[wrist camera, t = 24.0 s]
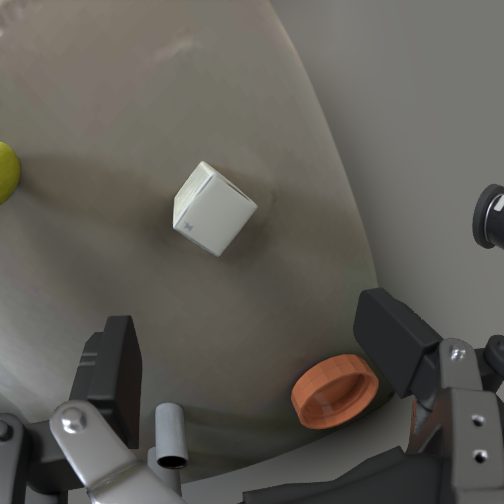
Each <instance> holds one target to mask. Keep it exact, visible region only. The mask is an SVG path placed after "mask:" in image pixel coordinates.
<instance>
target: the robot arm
mask: <svg viewBox="0 0 504 504" xmlns="http://www.w3.org/2000/svg"><path fill="white" fill-rule="evenodd" d="M483 234H484V238H485V240H486V241H487V242H489V243H491V244H494V245H496V246H498V247H500V248H502V249H503V250H504V194H502V193H498V194H496V195H495V196H494V197H493V198H492V199H491V201H490V202H489V204H488V206H487V209H486V212H485V215H484V221H483ZM353 331H354V336H355V339H356V340H357V342H358V343H359V345H360V346H361V347H362V348H363V350H364V351H365V352H366V354H367V355H368V356H369V357H370V359H371V360H372V361H373V363H374V364H375V365H376V366H377V368H378V369H379V370H380V372H381V373H382V374H383V376H384V377H385V378H386V380H387V381H388V382H389V383H390V385H391V386H392V387H393V389H394V390H395V391H396V393H397V394H398V395H399V397H400V398H401V399H402V398H405V397H407V396H410V395H412V394H414V395H415V396H416V397H415V399H414V402H413V406H412V418H411V428H410V438H409V444H408V448H407V450H406V452H405V453H404V452H403V450H402V449H401V447H400V446H397V447H395V448H393V449H390V450H388V451H386V452H383V453H381V454H378V455H376V456H374V457H371V458H368V459H366V460H365V461H363V462H362V463H360V464H359V465H358V466H356V467H354V468H353V469H352V470H350V471H348V472H347V473H345V474H344V475H342V476H340V477H339V478H337V479H335V480H333V481H328V482H314V483H293V484H283V485H278V486H273V487H269V488H263V489H258V490H253V491H247V492H243V502H240V503H238V504H504V403H503V402H502V401H501V399H500V398H499V397H498V396H497V395H496V392H497V390H498V389H499V387H500V385H501V384H502V382H503V381H504V336H502V335H493V336H491V337H490V338H489V341H488V343H487V345H486V347H485V348H480V349H473V348H472V347H471V346H470V345H469V344H468V343H467V342H465V341H463V340H460V339H456V338H448V339H445V340H444V339H443V338H442V337H441V336H440V335H439V334H438V333H437V332H436V331H435V330H434V329H432V328H431V327H430V326H429V325H428V324H427V323H426V322H425V321H424V320H421V318H420V317H419V316H418V315H417V314H416V313H415V314H414V311H412V309H410V308H409V307H408V306H407V305H406V304H404V303H402V302H400V301H398V300H396V299H394V298H393V297H392V296H391V295H390V294H389V293H388V292H386V291H385V290H384V289H383V288H375V289H369V290H363V291H362V292H361V294H360V297H359V302H358V307H357V311H356V316H355V321H354V326H353ZM79 364H80V366H78V369H77V372H76V376H75V379H74V383H73V386H72V390H71V394H70V397H69V401H67V402H64V403H62V404H61V405H59V406H58V407H57V408H56V409H55V410H54V411H53V413H52V415H51V417H50V420H47V421H42V422H37V423H32V424H27V425H23V423H22V422H21V420H20V419H19V418H18V417H17V416H15V415H14V414H11V413H1V414H0V504H68V490H73V489H78V488H83V487H86V489H87V492H86V493H87V495H88V497H89V498H90V500H91V501H92V503H93V504H188V503H187V502H186V501H185V500H183V499H182V498H181V497H180V496H179V495H178V494H177V493H176V492H175V491H174V490H172V489H171V488H170V487H169V486H168V485H167V484H166V483H165V482H164V481H163V480H162V479H161V478H160V477H159V476H158V475H157V474H156V473H155V472H154V471H153V470H152V469H151V468H150V467H149V466H148V465H147V464H146V463H145V462H144V461H142V460H138V459H137V458H136V457H135V456H134V454H133V453H132V452H131V451H130V450H129V449H139V417H140V397H141V382H142V357H141V352H140V348H139V344H138V340H137V336H136V332H135V328H134V324H133V320H132V317H131V316H130V315H128V316H110V317H108V319H107V322H106V325H105V329H104V332H95V333H94V334H93V335H92V336H91V337H90V339H89V340H88V341H87V342H86V344H85V347H84V350H83V353H82V356H81V359H80V363H79Z"/></svg>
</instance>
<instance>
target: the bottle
mask: <svg viewBox="0 0 504 504" xmlns="http://www.w3.org/2000/svg"><path fill="white" fill-rule="evenodd" d="M148 466H149V467H150V468H151V469H152V470H153V471H154V472H155V473H156V474H157V475H158V476H159V477H160V478H161V479H162V480H163V481H164V482H165V483H166V484H167V485H168V486H169V487H170V488H171V489H172V490H174V491H175V492H176V493H177V494H178V495H179V496H180V497H181V498H182V493H181V484H180V475H179V469H175V470H172V469H166V468H163V467H161V466H159V465H158V464H157V457H156V446H155V447H152V448H150V449H149V450H148Z"/></svg>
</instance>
